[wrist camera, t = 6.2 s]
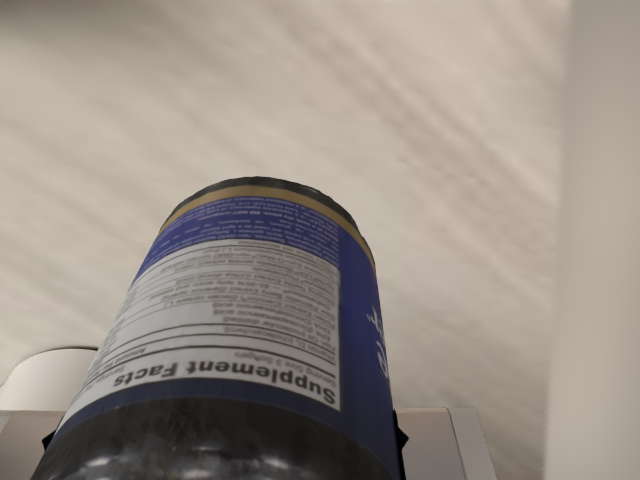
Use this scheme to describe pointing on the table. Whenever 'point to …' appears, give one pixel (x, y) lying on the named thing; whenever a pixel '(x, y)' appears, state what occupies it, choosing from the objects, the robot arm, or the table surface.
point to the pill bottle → (240, 351)
